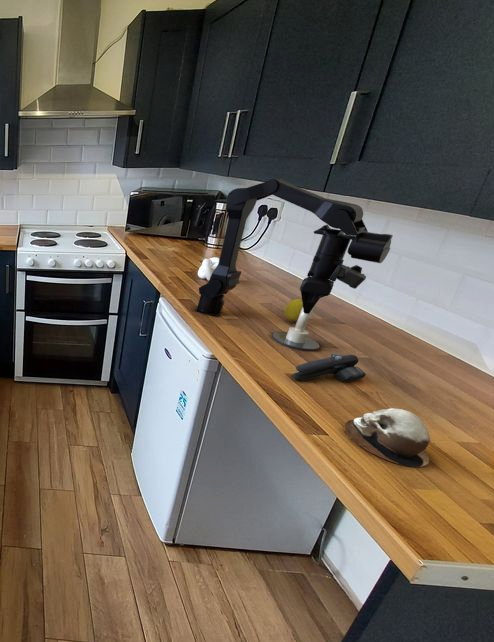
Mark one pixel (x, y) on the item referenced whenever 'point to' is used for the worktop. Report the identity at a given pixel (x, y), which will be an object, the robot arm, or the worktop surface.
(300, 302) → the lemon
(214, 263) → the white rounded lump
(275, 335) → the coaster
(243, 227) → the robot arm
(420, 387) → the worktop surface
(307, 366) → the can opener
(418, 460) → the skull
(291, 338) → the pestle
